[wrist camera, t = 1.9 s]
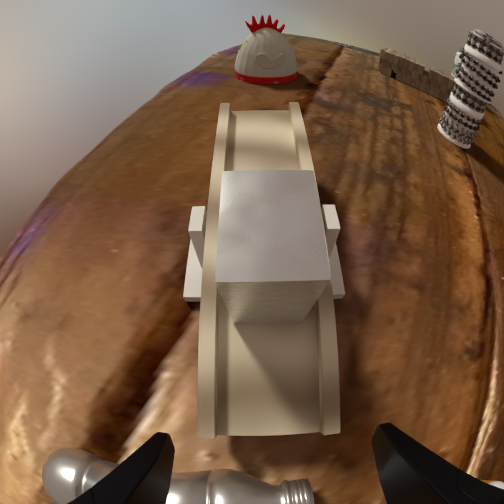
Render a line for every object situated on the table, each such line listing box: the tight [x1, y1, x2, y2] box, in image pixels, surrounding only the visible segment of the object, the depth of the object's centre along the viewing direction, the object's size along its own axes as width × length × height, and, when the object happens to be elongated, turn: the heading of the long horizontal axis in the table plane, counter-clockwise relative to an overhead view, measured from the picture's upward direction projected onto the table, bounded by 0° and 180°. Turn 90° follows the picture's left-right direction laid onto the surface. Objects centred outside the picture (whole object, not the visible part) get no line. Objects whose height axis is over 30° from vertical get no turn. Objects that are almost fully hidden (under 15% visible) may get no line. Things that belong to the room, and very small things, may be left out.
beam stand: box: [183, 205, 345, 302], centre depth 23 cm, size 8×14×7 cm, turn 90°
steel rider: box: [215, 170, 331, 324], centre depth 15 cm, size 6×4×8 cm
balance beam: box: [198, 102, 340, 439], centre depth 23 cm, size 30×8×6 cm, turn 0°
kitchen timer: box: [235, 15, 297, 84], centre depth 46 cm, size 14×14×15 cm
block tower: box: [378, 47, 456, 103], centre depth 52 cm, size 8×8×29 cm
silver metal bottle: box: [42, 448, 314, 504], centre depth 12 cm, size 6×7×20 cm
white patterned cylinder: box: [437, 29, 504, 149], centre depth 30 cm, size 9×9×25 cm
